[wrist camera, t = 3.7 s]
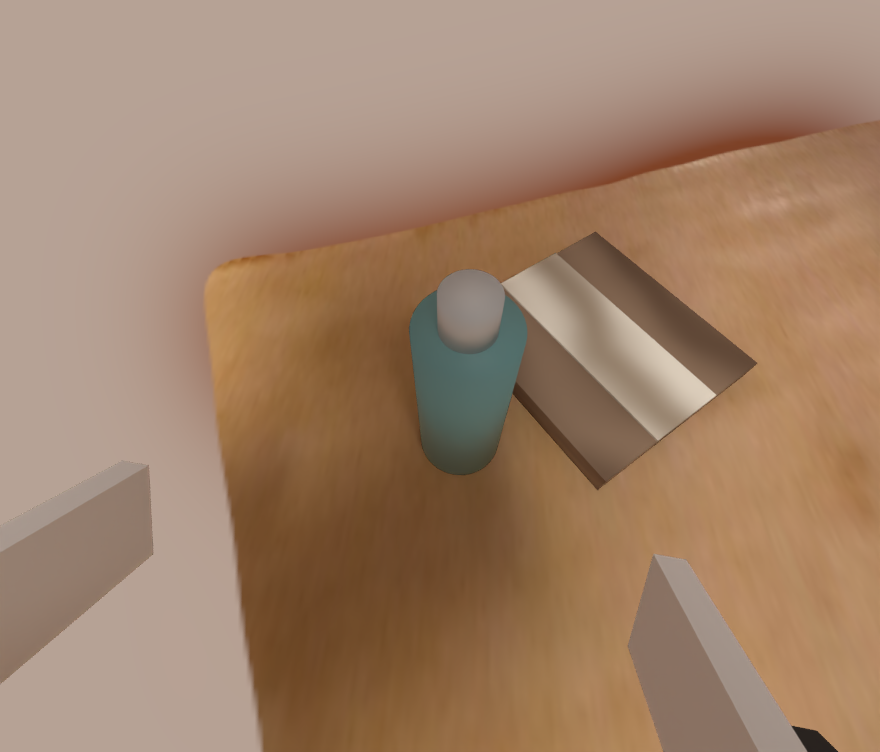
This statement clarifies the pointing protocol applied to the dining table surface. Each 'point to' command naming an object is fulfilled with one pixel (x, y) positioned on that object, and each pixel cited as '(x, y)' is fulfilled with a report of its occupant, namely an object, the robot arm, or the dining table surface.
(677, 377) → the brown cream striped panel
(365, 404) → the dining table surface
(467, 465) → the teal bottle with cap
